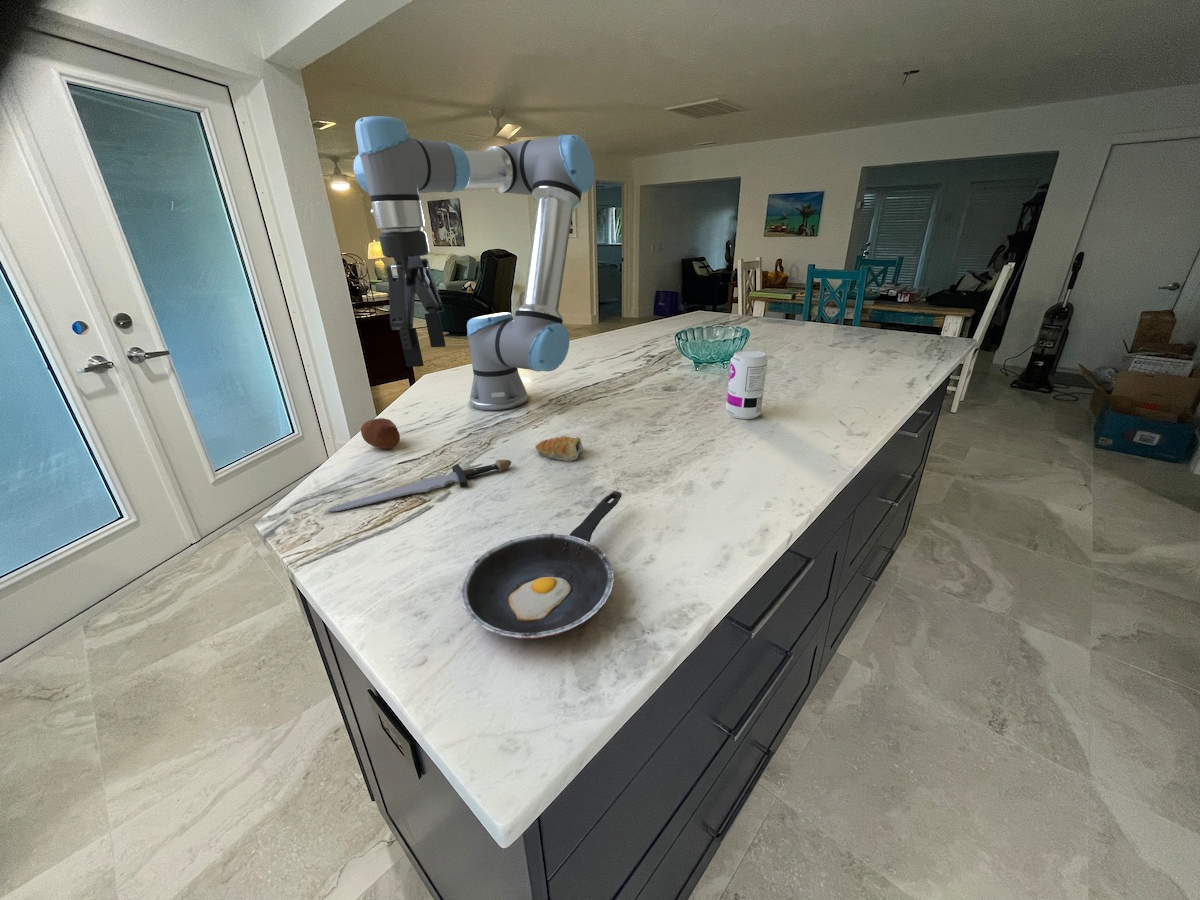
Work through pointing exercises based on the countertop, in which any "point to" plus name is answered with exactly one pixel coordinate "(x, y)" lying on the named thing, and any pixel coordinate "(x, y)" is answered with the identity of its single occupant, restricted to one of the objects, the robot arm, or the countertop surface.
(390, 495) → the dagger
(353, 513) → the countertop surface
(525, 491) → the countertop surface
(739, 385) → the supplement can
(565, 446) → the pastry
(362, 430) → the potato
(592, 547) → the frying pan
